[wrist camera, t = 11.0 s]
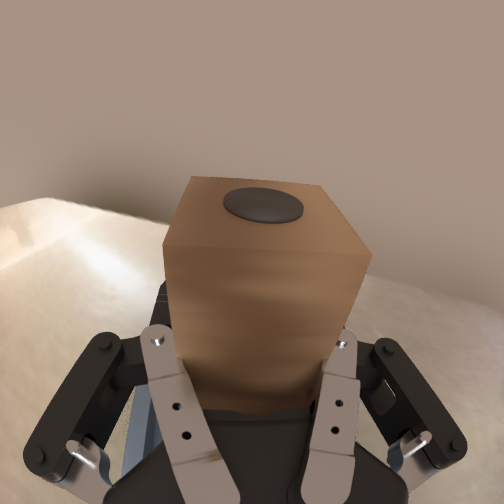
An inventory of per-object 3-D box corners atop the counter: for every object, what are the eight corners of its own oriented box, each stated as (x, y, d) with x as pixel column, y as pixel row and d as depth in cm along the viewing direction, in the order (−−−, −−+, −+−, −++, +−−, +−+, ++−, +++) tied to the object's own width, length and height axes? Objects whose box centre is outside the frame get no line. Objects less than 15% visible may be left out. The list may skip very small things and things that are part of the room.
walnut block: (276, 368, 17) (320, 182, 11) (285, 438, 13) (373, 249, 7) (197, 367, 17) (191, 172, 10) (193, 438, 13) (161, 238, 6)
